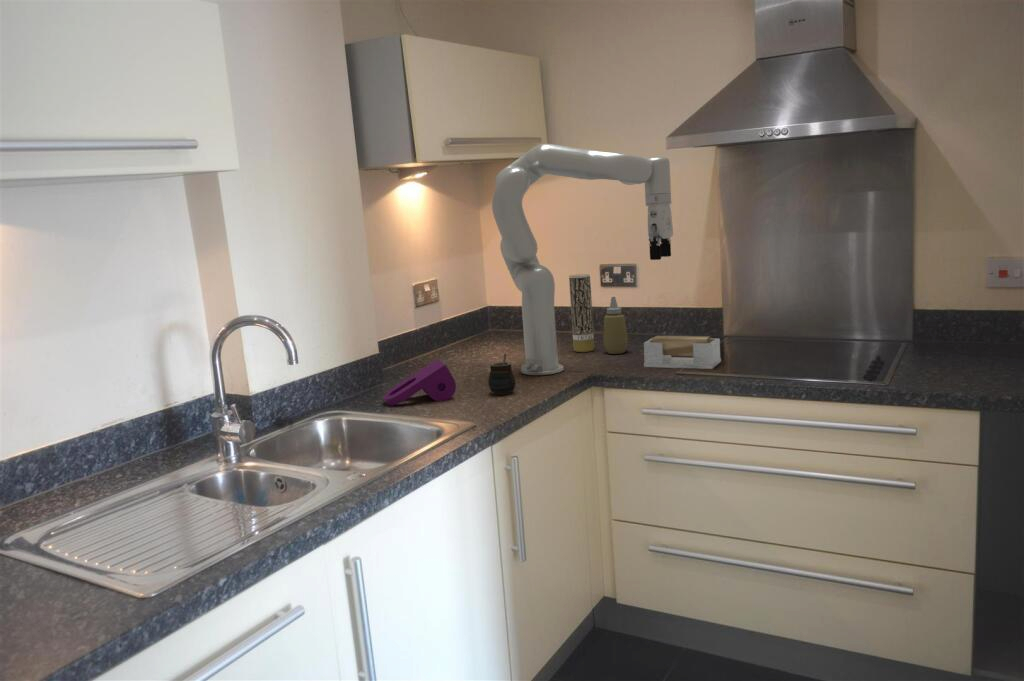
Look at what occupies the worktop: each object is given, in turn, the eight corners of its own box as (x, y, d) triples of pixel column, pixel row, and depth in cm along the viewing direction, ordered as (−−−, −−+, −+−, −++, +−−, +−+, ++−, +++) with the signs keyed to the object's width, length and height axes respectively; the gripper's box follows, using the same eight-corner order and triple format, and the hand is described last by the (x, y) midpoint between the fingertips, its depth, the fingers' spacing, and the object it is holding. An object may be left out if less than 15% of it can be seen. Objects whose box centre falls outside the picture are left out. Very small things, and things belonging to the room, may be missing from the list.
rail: (706, 356, 240) (706, 338, 239) (652, 354, 247) (652, 338, 246) (710, 353, 243) (710, 336, 242) (657, 352, 251) (656, 335, 250)
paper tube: (569, 350, 280) (565, 275, 276) (587, 348, 282) (583, 273, 278) (580, 353, 274) (575, 276, 269) (598, 350, 276) (593, 274, 272)
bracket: (712, 368, 237) (711, 344, 235) (643, 366, 246) (642, 343, 245) (721, 361, 245) (720, 337, 244) (654, 360, 255) (653, 337, 253)
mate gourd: (486, 396, 223) (483, 359, 222) (492, 390, 231) (489, 354, 229) (513, 395, 222) (510, 358, 220) (518, 389, 229) (515, 353, 228)
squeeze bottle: (626, 355, 266) (623, 298, 263) (601, 355, 268) (597, 299, 265) (631, 350, 273) (628, 294, 270) (606, 350, 276) (603, 295, 273)
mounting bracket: (403, 428, 220) (461, 391, 224) (387, 402, 218) (445, 364, 222) (397, 420, 229) (452, 384, 233) (380, 395, 227) (437, 359, 230)
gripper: (661, 200, 240) (664, 260, 243) (679, 198, 255) (681, 255, 258) (636, 202, 244) (639, 261, 246) (655, 199, 259) (657, 255, 261)
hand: (660, 258), depth 252 cm, fingers open, 9 cm apart
